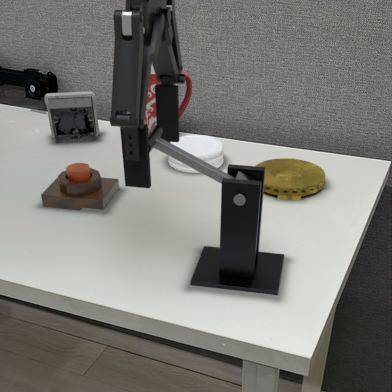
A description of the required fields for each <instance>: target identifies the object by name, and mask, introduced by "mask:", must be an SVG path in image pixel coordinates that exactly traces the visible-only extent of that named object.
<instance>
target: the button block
mask: <svg viewBox="0 0 392 392" xmlns="http://www.w3.org/2000/svg"><path fill="white" fill-rule="evenodd" d="M90 174H91V178H90V179H87V180H85V181H78V182H77V181H70V180H68V177H67V171H66V169H65V170H63V171H61V172H60V173H59V174H58V175H57V177H56V178H55V179H54V180H53V181H52V182H51V184H49V186H48V187H47V188H46V189H44V191H43V192H42V193H41V194H40V197H41V201H42V207H43V208H44V207H46V208H53V209H55V208H56V209H63V210H75V211H82V210H83V209H93V210H105V208H106V207H107V206H108V204H109V203H110V202H111V200H112V199H113V197H114V196H115V195H116V193H117V192H118V191H120V181H119V178H113V177H102V176H101V173H100V171H99V170H97V169H94V168H92V167H90Z"/></svg>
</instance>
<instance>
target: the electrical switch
mask: <svg viewBox="0 0 392 392" xmlns="http://www.w3.org/2000/svg"><path fill="white" fill-rule="evenodd" d="M44 103H45V105H46V112H47V117H48V122H49V128H50V134H51V137H52V138H53V139H55V143H73V142H82V141H84V142H85V141H97V137H98V136H99V135H100V127H99V120H98V119H99V117H98V111H97V110H98V109H97V100H96V94H95V92H93V91H92V90H88V91H70V92H69V91H68V92H50V93H49V92H48V93H45V95H44Z"/></svg>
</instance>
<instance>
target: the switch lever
mask: <svg viewBox="0 0 392 392" xmlns="http://www.w3.org/2000/svg"><path fill="white" fill-rule="evenodd" d="M162 134H163V129H162V128H161V127H160V126H159V125H154V126H153V127H152V128H151V129H150V131H149V132H148V137H149V154H151V152H152V150H153V149H155V150H157V151H159V152H161V153H163V154H165V155H167V156H168V157H169V156H170V157H172V158H174V159H176V160H178V161H180V162H182V163H183V164H185V165H187V166H189V167H191V168H193V169H195V170H197V171H198V172H200V173H199V174H202V175H204V176H206V177H208V178H210V179H212V180H214V181H215V182H217V183H219V184H221V185H222V180H223V178H228V179H240V180H252V181H256V180H255V179H253V178H251V177H249V176H247V175H245V174H243V173H242V172H240V171H238V173H237V175H236V177H235V178H234V177H233V176H231V175H229V174H227V172H225V171H223V170H222V169H219V168H216V167H214V166H212V165H210V164H208V163H207V162H205V161H203V160H201V159H199V158H197V157H195V156H194V155H192V154H190V153H188V152H186V151H184V150H182V149H180V148H179V147H177V146H175V145H173V144H171V143H170V142H167V141H166V140H164V139H162V138H160V137H161V136H162Z"/></svg>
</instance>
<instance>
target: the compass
mask: <svg viewBox="0 0 392 392" xmlns="http://www.w3.org/2000/svg"><path fill="white" fill-rule="evenodd" d="M255 166H257V167H265V180H264V192H265V193H267V194H270V195H275V196H277V200H284V201H299V200H301V199H302V197H304V196H310V195H312V194H316V193H318V192H319V191H321V190H324V188H325V181H326V172H325V170H324V169H323V168H322V167H320V166H319V165H318V164H315V163H313V162H311V161H307V160H303V159H299V158H298V159H297V158H286V157H285V158H280V157H279V158H272V159H267V160H264V161H261V162H258V163H257V164H255Z"/></svg>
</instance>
